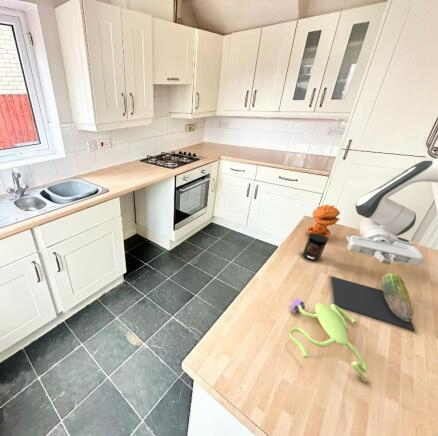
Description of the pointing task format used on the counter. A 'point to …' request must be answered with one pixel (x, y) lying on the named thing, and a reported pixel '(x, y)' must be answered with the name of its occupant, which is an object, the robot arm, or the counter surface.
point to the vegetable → (397, 296)
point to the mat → (365, 302)
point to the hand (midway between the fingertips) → (387, 262)
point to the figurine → (329, 330)
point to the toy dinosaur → (324, 220)
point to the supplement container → (314, 247)
